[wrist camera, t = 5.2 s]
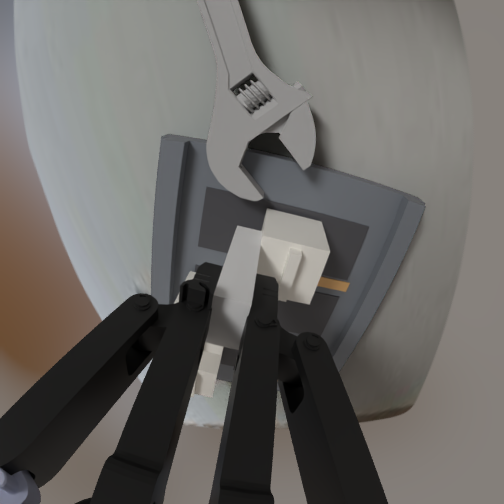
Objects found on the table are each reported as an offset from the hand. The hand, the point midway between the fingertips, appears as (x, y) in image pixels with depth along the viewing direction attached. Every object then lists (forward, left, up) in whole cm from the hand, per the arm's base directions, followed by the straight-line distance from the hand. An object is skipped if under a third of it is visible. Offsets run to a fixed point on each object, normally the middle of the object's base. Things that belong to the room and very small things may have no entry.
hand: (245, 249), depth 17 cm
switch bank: (+6, +2, -4) cm, 7 cm away
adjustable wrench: (-14, -4, -4) cm, 15 cm away
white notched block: (0, +3, -2) cm, 3 cm away
